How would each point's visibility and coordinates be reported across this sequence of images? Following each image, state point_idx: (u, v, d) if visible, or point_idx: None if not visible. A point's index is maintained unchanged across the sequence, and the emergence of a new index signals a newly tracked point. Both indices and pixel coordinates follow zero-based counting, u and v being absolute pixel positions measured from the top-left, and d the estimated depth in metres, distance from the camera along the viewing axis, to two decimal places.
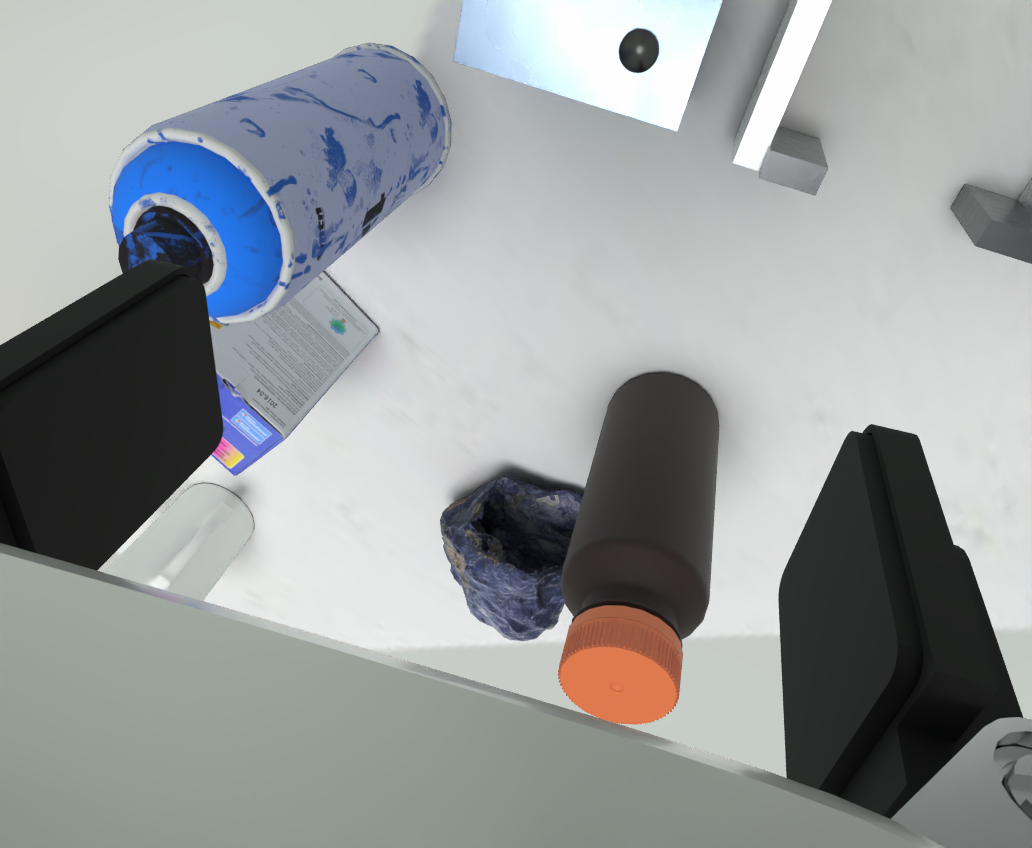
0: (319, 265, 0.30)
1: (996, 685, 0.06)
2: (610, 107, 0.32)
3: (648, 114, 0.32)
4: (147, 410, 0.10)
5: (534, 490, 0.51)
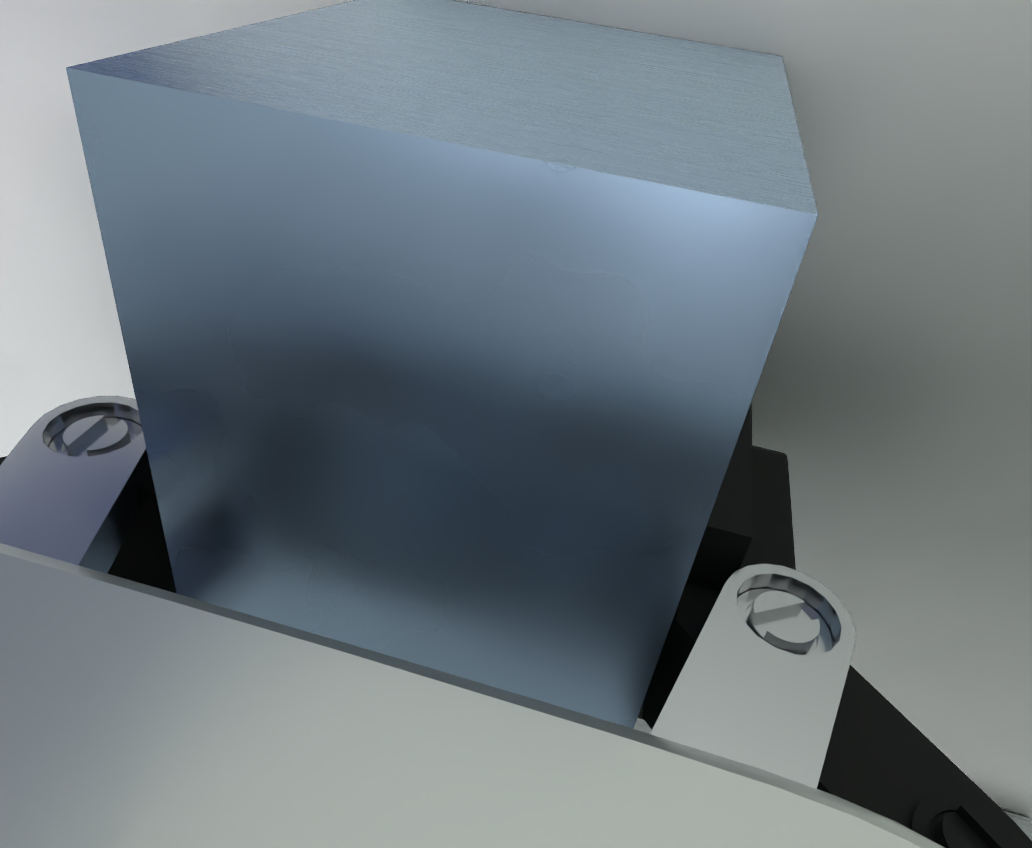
0: None
1: (749, 535, 0.07)
2: None
3: None
4: None
5: None
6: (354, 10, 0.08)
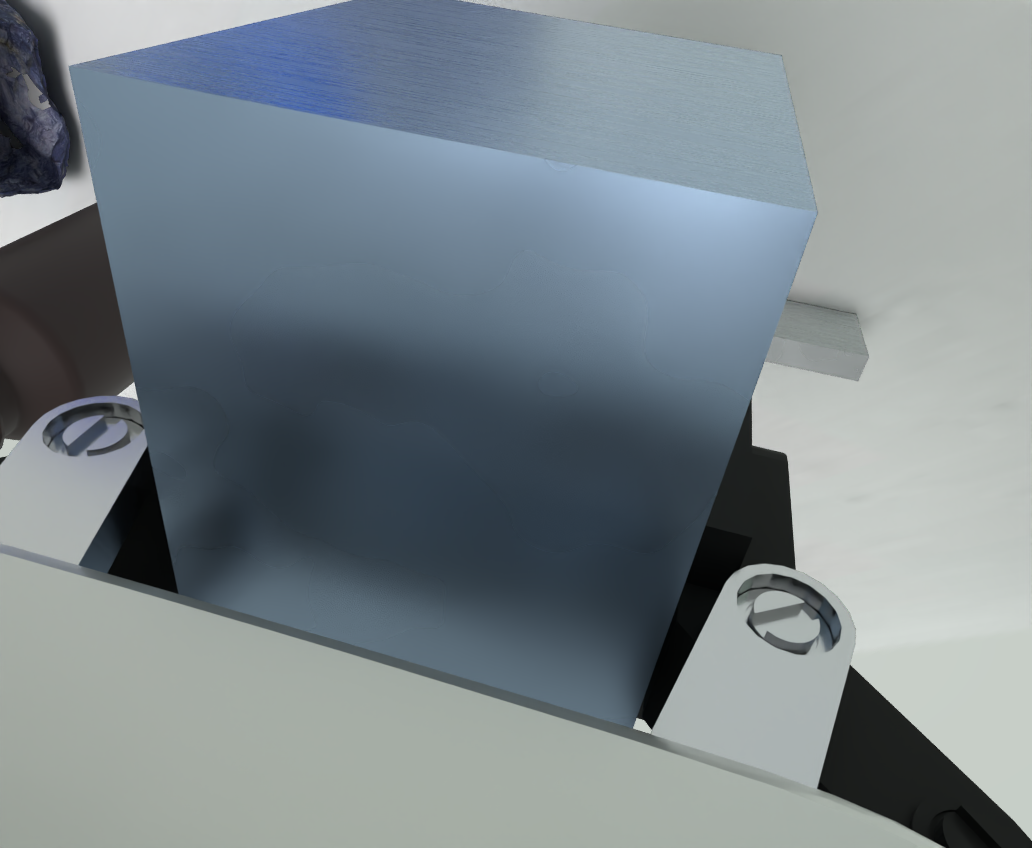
0: None
1: (749, 535, 0.07)
2: None
3: None
4: None
5: (38, 77, 0.36)
6: (355, 9, 0.08)
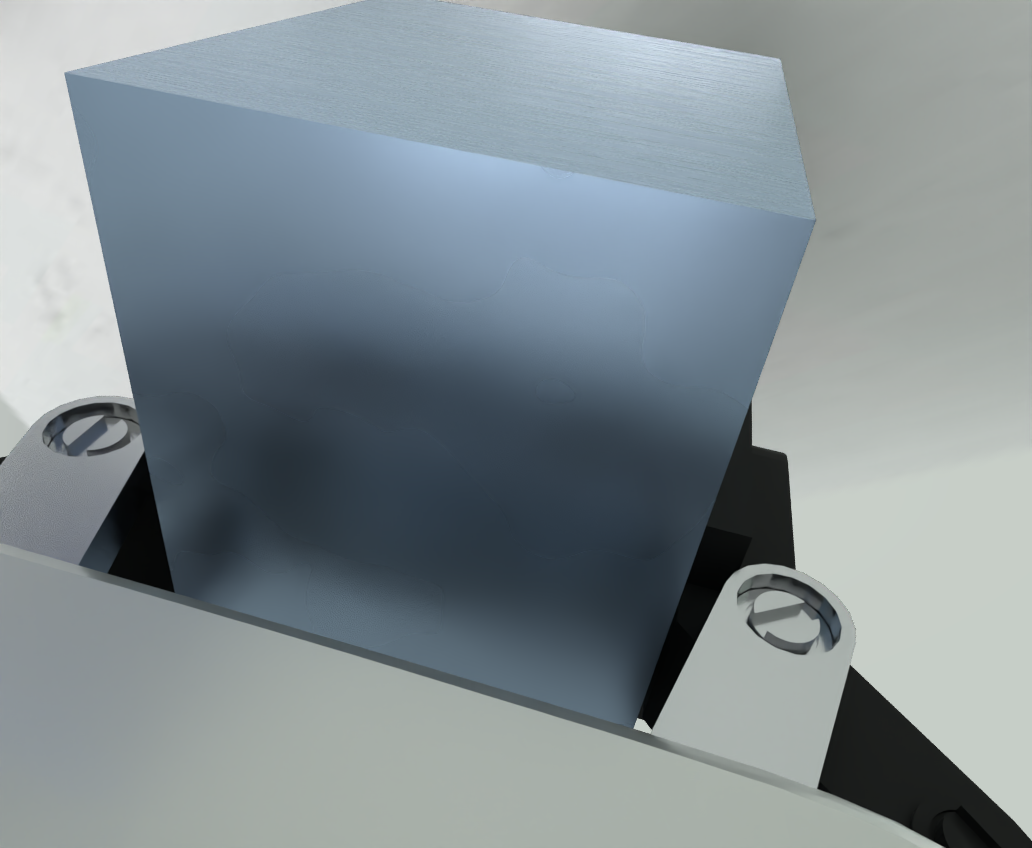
0: None
1: (749, 536, 0.07)
2: None
3: None
4: None
5: None
6: (353, 13, 0.08)
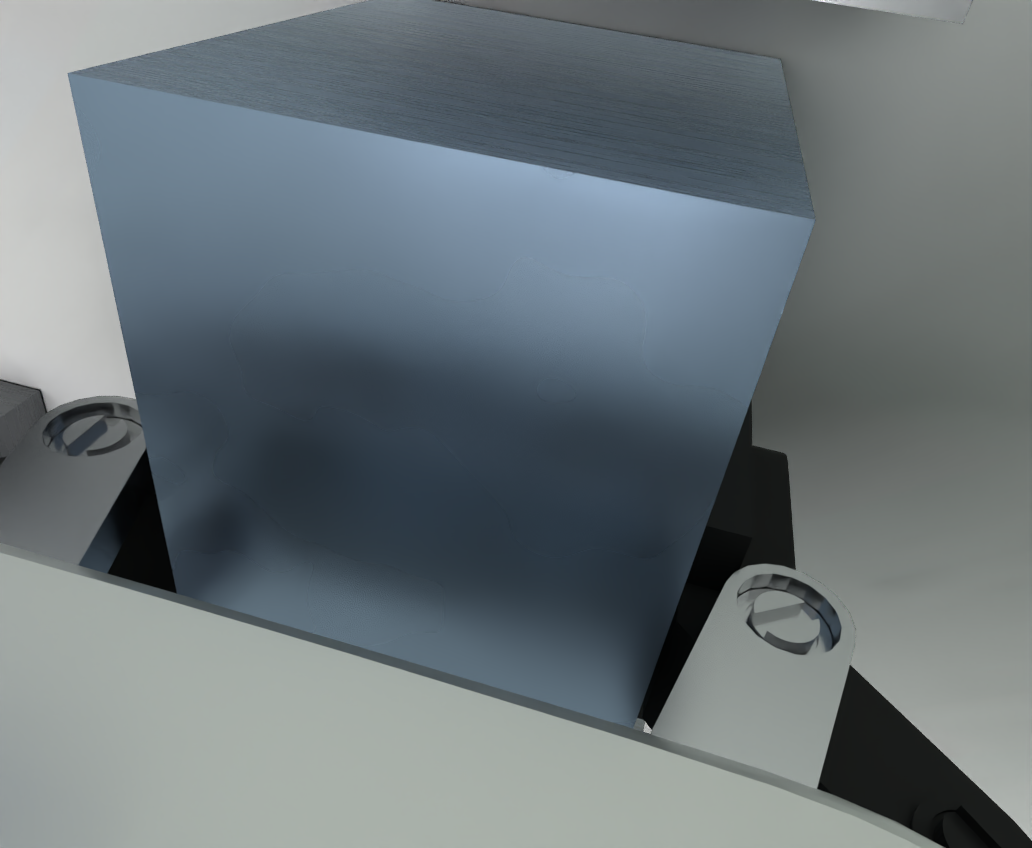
0: None
1: (749, 536, 0.07)
2: None
3: None
4: None
5: None
6: (354, 13, 0.08)
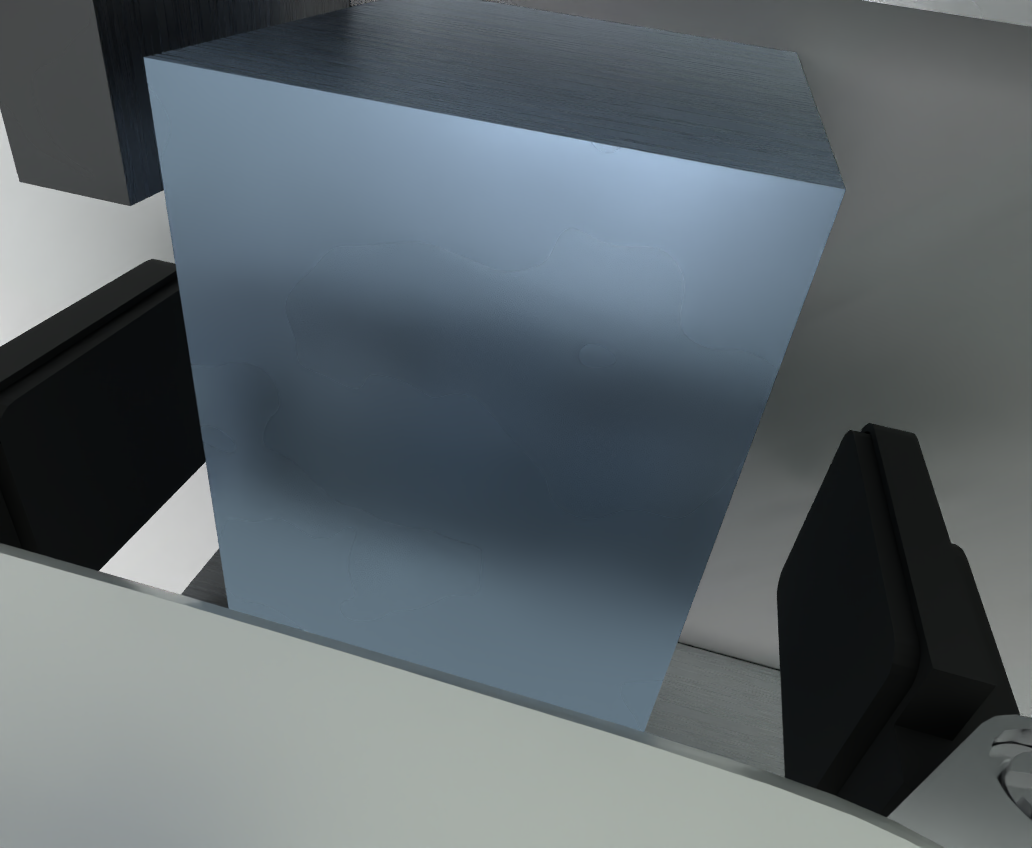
0: None
1: (992, 683, 0.06)
2: None
3: None
4: (149, 409, 0.10)
5: None
6: (390, 7, 0.09)
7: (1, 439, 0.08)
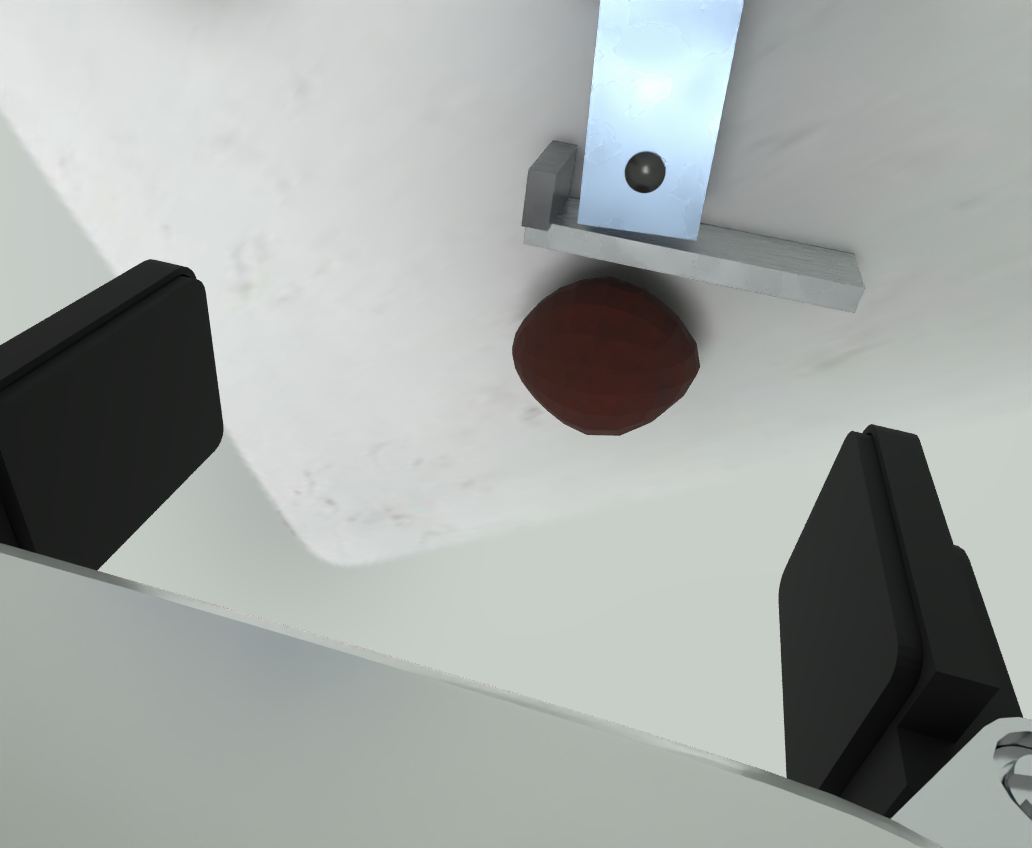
0: None
1: (996, 685, 0.06)
2: (587, 152, 0.31)
3: (588, 192, 0.31)
4: (147, 410, 0.10)
5: None
6: None
7: None
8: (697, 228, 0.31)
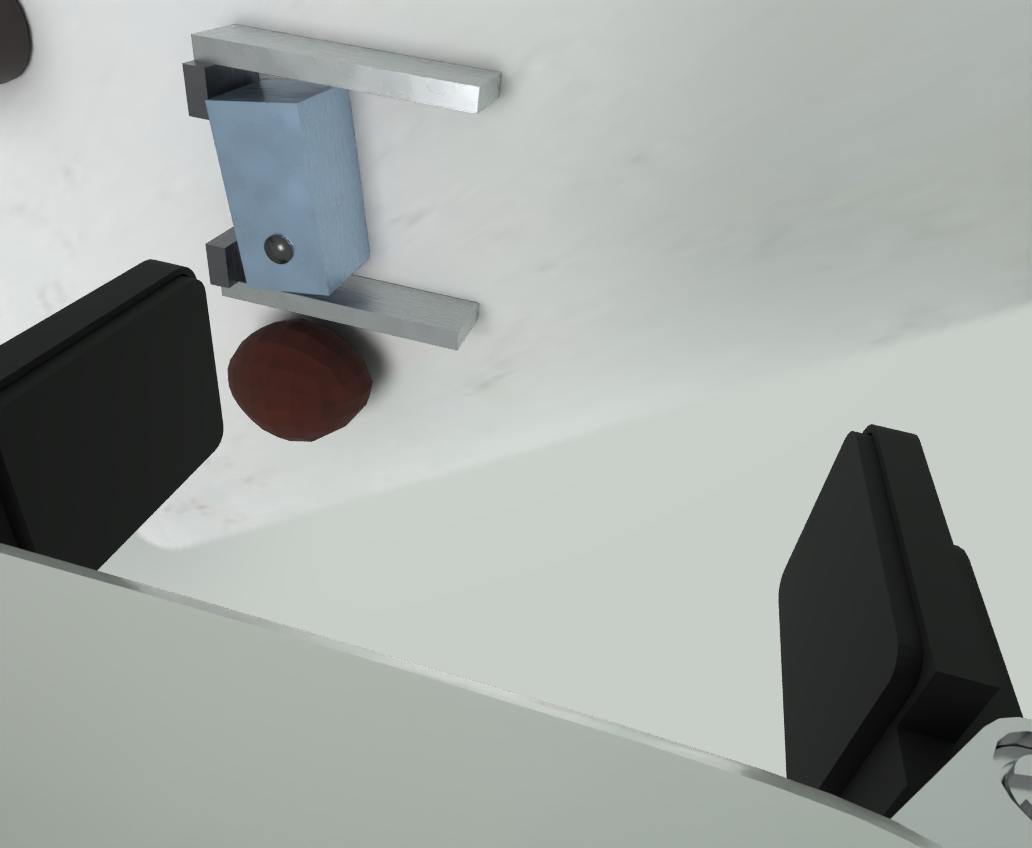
0: None
1: (995, 685, 0.06)
2: (238, 237, 0.42)
3: (247, 265, 0.42)
4: (147, 410, 0.10)
5: None
6: (252, 85, 0.41)
7: None
8: (326, 287, 0.42)
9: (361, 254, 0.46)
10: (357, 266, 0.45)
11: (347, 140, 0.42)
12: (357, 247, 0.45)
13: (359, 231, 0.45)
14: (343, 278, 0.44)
